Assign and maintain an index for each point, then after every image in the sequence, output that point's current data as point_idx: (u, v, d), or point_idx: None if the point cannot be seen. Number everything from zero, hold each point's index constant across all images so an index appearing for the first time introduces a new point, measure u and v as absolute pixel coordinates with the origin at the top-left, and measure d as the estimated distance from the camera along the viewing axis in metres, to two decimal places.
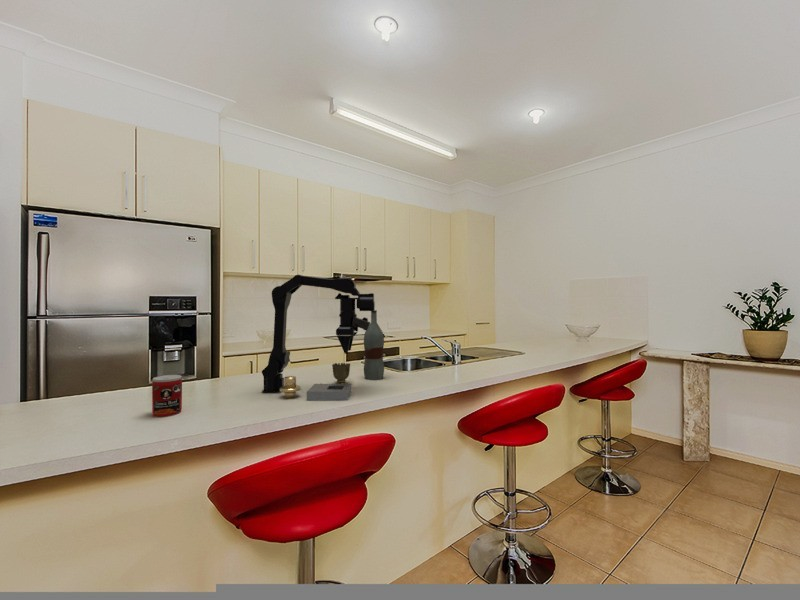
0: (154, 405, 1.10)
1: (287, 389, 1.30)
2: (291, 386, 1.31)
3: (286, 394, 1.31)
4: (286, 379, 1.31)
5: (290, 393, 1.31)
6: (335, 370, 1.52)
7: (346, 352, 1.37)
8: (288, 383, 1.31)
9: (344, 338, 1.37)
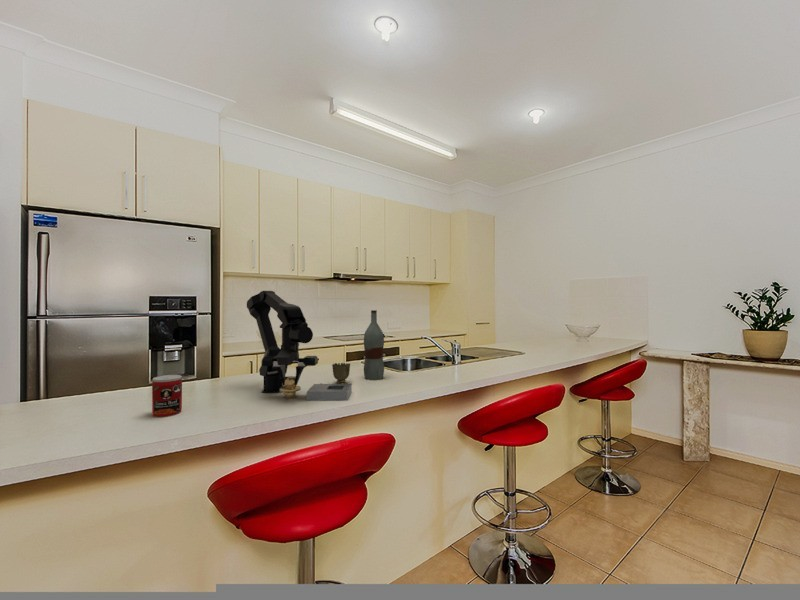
0: (154, 405, 1.10)
1: (287, 389, 1.30)
2: (291, 386, 1.31)
3: (286, 394, 1.31)
4: (286, 379, 1.31)
5: (290, 393, 1.31)
6: (335, 370, 1.52)
7: None
8: (288, 383, 1.31)
9: None
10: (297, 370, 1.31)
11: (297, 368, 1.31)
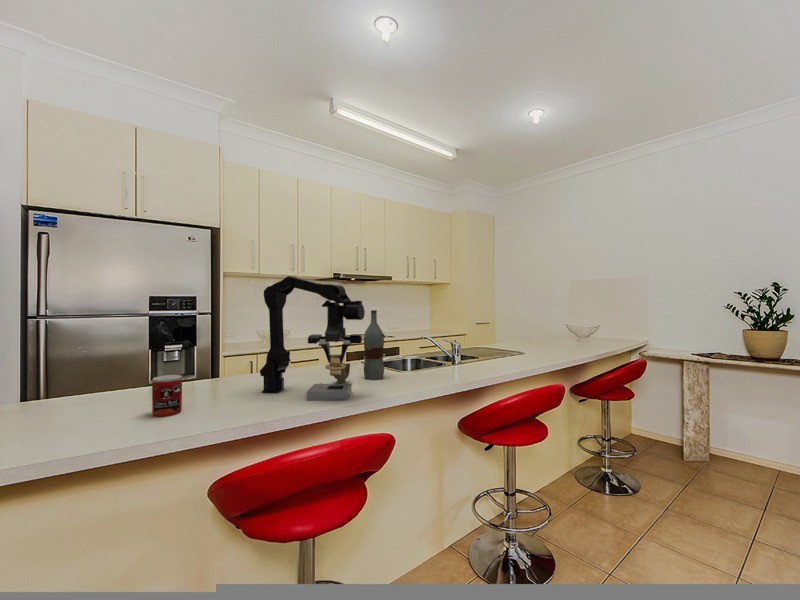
0: (154, 405, 1.10)
1: (333, 366, 1.31)
2: (337, 364, 1.32)
3: (332, 371, 1.32)
4: (332, 357, 1.32)
5: (336, 370, 1.32)
6: None
7: None
8: (334, 361, 1.32)
9: None
10: (343, 348, 1.33)
11: (343, 346, 1.32)
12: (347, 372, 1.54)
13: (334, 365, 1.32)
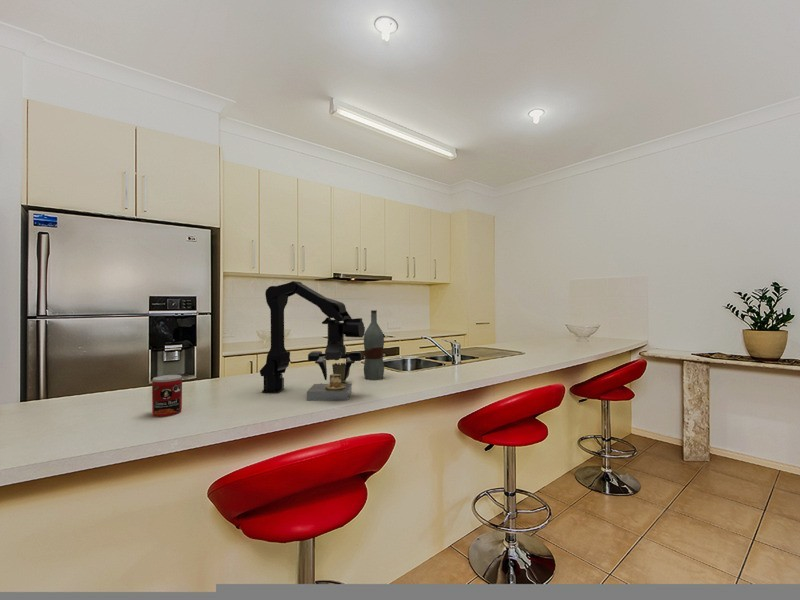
0: (154, 405, 1.10)
1: (333, 387, 1.31)
2: (337, 384, 1.32)
3: None
4: (332, 377, 1.32)
5: None
6: (335, 370, 1.52)
7: None
8: (334, 381, 1.32)
9: None
10: (346, 365, 1.33)
11: (347, 363, 1.32)
12: None
13: (334, 385, 1.32)
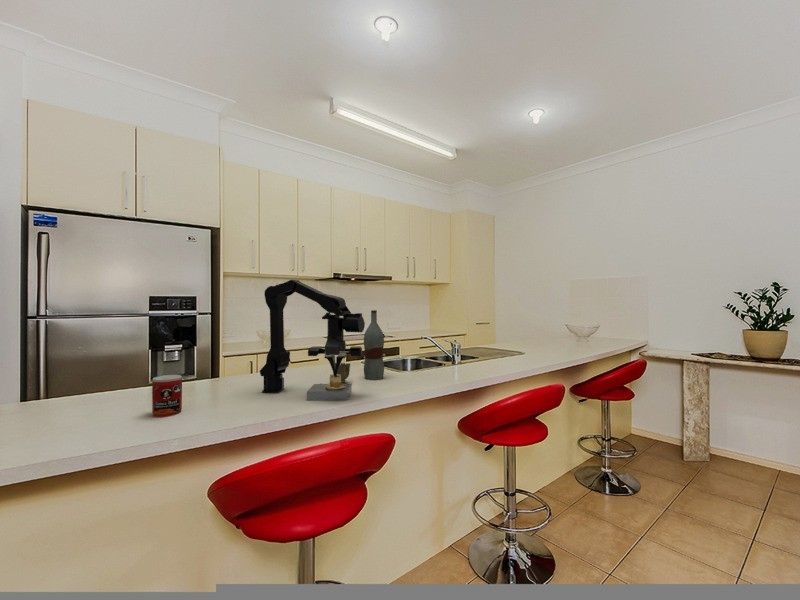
0: (154, 405, 1.10)
1: (333, 387, 1.31)
2: (337, 384, 1.32)
3: None
4: (332, 377, 1.32)
5: None
6: None
7: None
8: (334, 381, 1.32)
9: None
10: (337, 360, 1.33)
11: (337, 358, 1.32)
12: (347, 372, 1.54)
13: (334, 385, 1.32)
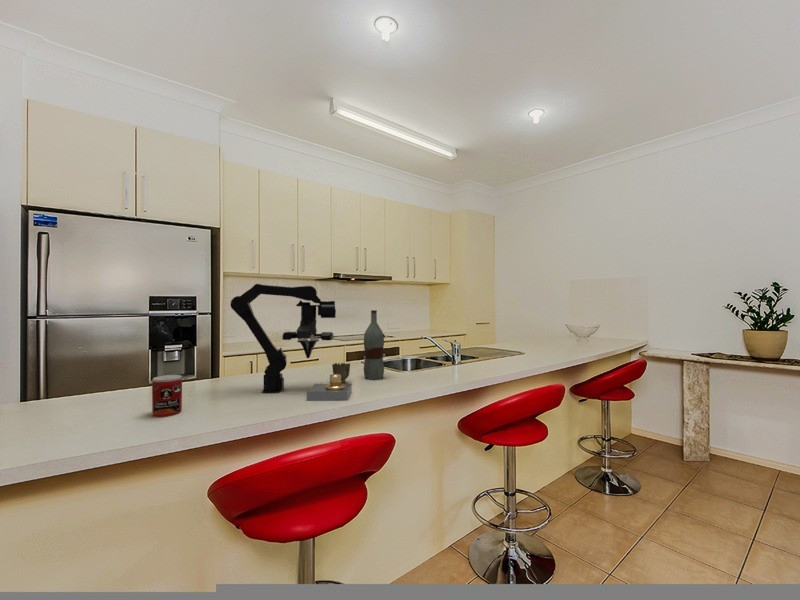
0: (154, 405, 1.10)
1: (333, 387, 1.31)
2: (337, 384, 1.32)
3: None
4: (332, 377, 1.32)
5: None
6: (335, 370, 1.52)
7: None
8: (334, 381, 1.32)
9: None
10: (309, 344, 1.44)
11: (309, 342, 1.43)
12: (347, 372, 1.54)
13: (334, 385, 1.32)
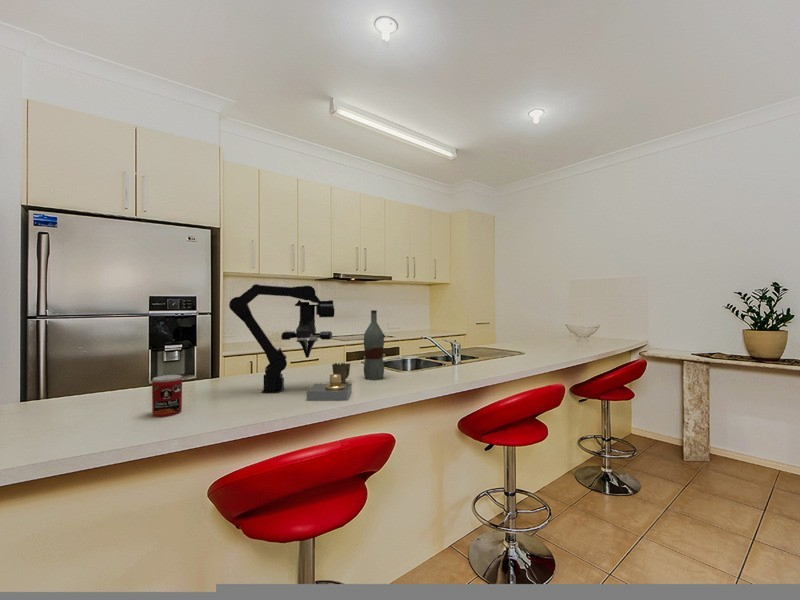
0: (154, 405, 1.10)
1: (333, 387, 1.31)
2: (337, 384, 1.32)
3: None
4: (332, 377, 1.32)
5: None
6: (335, 370, 1.52)
7: None
8: (334, 381, 1.32)
9: None
10: (309, 344, 1.44)
11: (309, 342, 1.44)
12: (347, 372, 1.54)
13: (334, 385, 1.32)
